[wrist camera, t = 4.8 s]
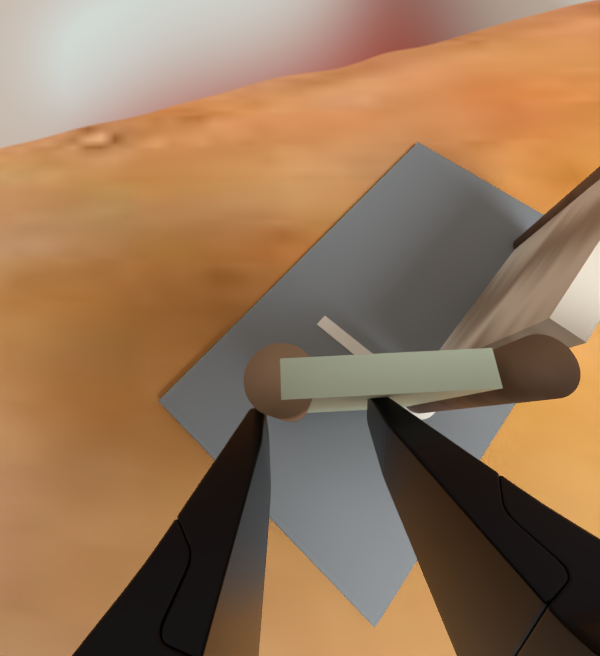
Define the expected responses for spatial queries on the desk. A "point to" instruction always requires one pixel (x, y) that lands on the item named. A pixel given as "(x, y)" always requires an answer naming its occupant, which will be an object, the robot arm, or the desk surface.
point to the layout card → (354, 339)
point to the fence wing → (362, 379)
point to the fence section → (537, 306)
